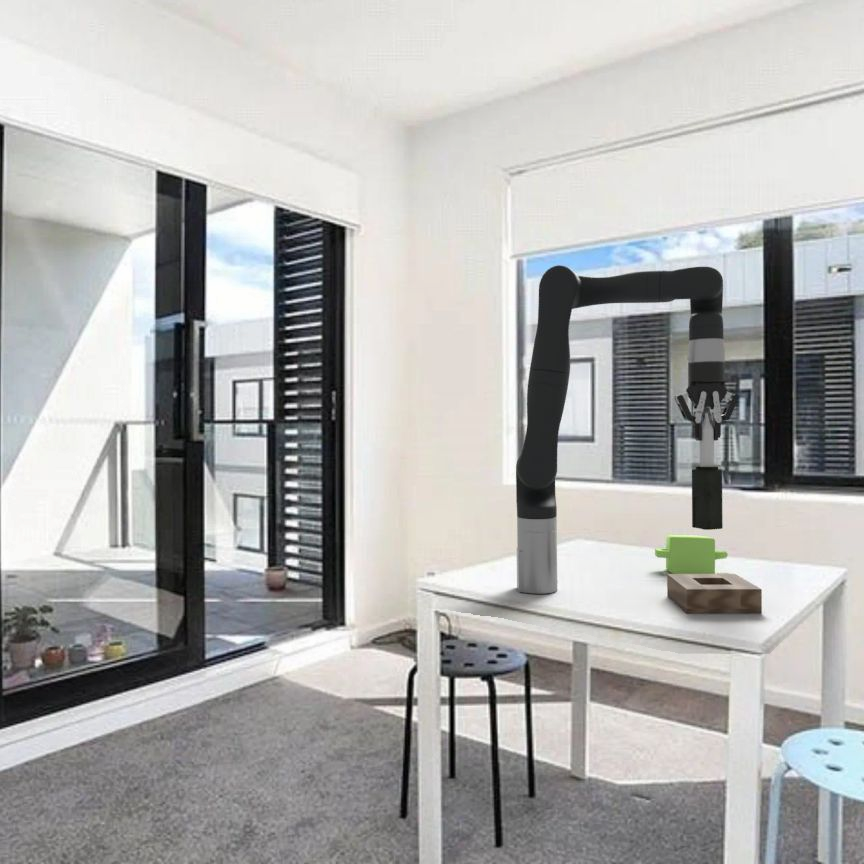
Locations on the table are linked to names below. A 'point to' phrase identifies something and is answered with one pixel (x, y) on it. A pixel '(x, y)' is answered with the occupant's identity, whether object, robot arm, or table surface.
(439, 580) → the table surface
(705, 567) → the green square pitcher
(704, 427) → the candle
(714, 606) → the holder
